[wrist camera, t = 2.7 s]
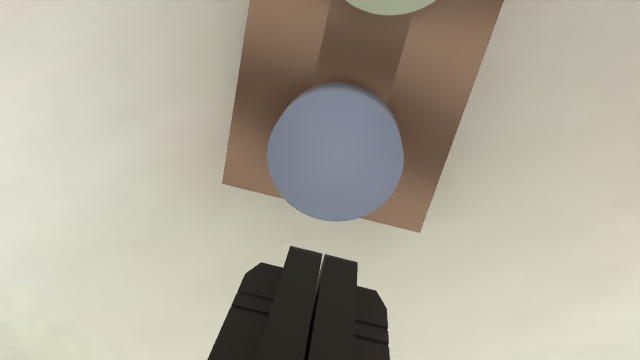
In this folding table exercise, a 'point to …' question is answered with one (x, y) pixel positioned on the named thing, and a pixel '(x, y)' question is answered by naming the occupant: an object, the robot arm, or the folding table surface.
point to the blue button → (336, 152)
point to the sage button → (390, 6)
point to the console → (361, 83)
